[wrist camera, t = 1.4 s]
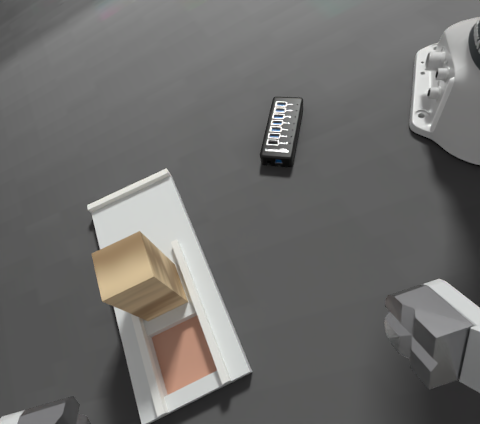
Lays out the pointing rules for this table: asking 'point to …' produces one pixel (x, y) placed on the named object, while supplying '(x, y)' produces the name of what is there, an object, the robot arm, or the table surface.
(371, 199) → the table surface
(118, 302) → the block
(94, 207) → the channel
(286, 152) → the multiport hub
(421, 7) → the table surface
